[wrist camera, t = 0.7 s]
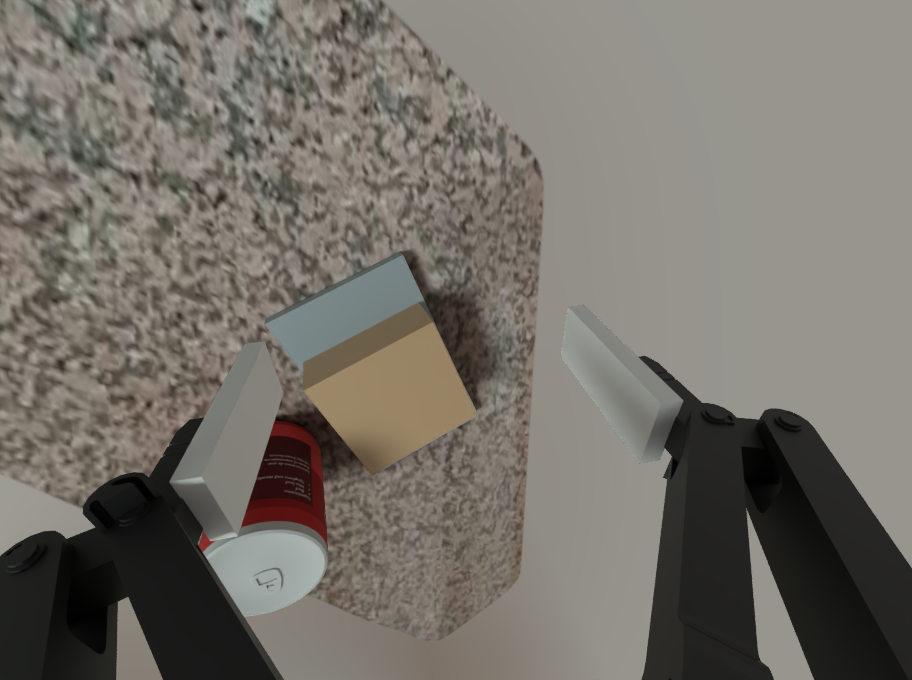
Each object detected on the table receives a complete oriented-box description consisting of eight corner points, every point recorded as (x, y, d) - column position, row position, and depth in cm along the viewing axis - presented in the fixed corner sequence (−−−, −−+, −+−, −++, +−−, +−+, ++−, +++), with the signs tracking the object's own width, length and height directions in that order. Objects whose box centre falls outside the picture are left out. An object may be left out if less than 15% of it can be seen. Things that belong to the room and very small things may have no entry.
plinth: (265, 318, 27) (259, 349, 23) (399, 251, 29) (416, 269, 24) (378, 464, 37) (388, 504, 33) (474, 409, 38) (495, 441, 34)
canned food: (259, 502, 34) (244, 633, 25) (199, 447, 30) (154, 581, 21) (337, 461, 35) (350, 572, 26) (290, 402, 31) (286, 510, 22)
